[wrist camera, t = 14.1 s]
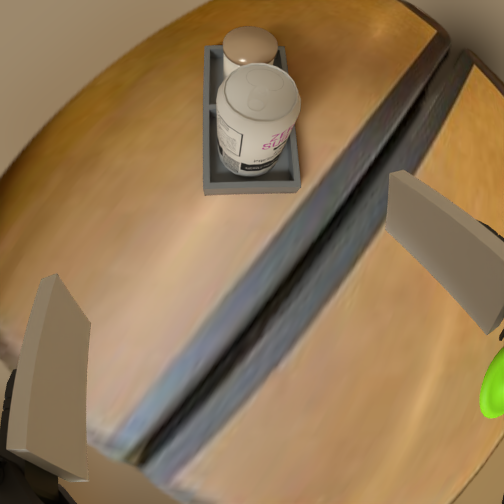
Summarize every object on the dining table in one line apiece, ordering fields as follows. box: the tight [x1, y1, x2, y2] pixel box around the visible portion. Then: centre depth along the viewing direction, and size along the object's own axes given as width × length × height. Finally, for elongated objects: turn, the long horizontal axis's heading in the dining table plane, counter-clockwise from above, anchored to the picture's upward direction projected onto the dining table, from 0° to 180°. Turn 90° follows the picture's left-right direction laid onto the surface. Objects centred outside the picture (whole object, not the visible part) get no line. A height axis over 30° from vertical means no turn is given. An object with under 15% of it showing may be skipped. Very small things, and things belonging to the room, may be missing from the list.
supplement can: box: [216, 63, 301, 177], centre depth 34 cm, size 8×8×15 cm
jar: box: [223, 26, 278, 81], centre depth 37 cm, size 7×7×9 cm
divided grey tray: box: [203, 45, 301, 196], centre depth 41 cm, size 12×23×3 cm, turn 3°
